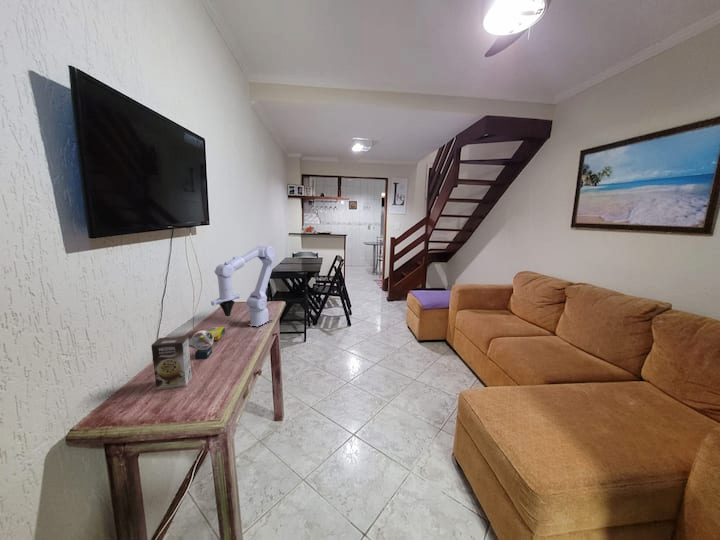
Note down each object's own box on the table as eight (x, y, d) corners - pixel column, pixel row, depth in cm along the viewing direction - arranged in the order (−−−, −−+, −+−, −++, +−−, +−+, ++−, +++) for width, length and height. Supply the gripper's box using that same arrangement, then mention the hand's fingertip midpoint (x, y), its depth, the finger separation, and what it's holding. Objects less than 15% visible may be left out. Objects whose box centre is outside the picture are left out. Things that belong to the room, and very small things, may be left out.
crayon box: (209, 333, 133) (199, 343, 121) (209, 327, 132) (198, 337, 121) (225, 332, 134) (216, 342, 122) (225, 326, 133) (216, 336, 122)
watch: (212, 358, 109) (209, 333, 107) (190, 359, 108) (188, 334, 106) (216, 352, 115) (215, 328, 113) (196, 353, 113) (194, 329, 111)
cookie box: (155, 390, 88) (149, 345, 85) (163, 379, 94) (158, 337, 91) (186, 386, 90) (182, 342, 88) (192, 376, 97) (188, 334, 94)
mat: (210, 332, 135) (210, 331, 135) (223, 336, 130) (223, 335, 130) (182, 343, 122) (182, 342, 122) (196, 347, 118) (195, 346, 118)
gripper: (232, 285, 136) (234, 310, 138) (206, 291, 123) (208, 318, 125) (242, 286, 133) (244, 312, 135) (216, 293, 120) (218, 321, 122)
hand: (227, 315), depth 130 cm, fingers closed
